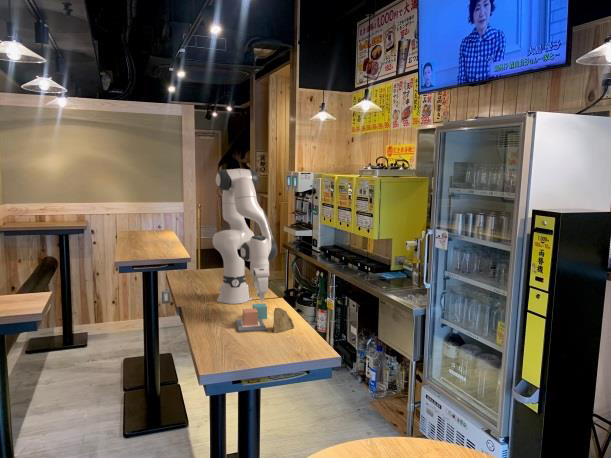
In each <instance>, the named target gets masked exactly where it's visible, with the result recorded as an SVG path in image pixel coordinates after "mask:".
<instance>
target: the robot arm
mask: <svg viewBox="0 0 611 458" xmlns="http://www.w3.org/2000/svg"><path fill="white" fill-rule="evenodd" d="M215 184H216V186H217V188H218V189H219V190H222V195H221V196H222V200H221V203H222V204H221V205H222V218H223V220H224V221H225V222H227V224H229V227H230V229H225V230H224V229H223V230H220V231H218V232H216V233H214V235H213V236H212V246H213V248H214V249H215V250H217V251H218V252H219V253H220V254H219V255H221V258H222V261H223V276H222V280H223V281H222V282H223V283H222V284H221V286H220V287H219V289H218V291H219V295H218V297H217V299H216V302H218V303H223V304H231V305H233V304H234V305H236V304H243V303H246V302H248V301H252V300H253V298H252V297H251V296H249V284H247V283H246V278H247V277H246V273H245V271H246V270H245V266H246V263H245V262H250V265H249V266H250V267H249V269H250V275H252V276H253V285H254V287H255V290H256V297H258V298H259V301H260V302H264V301H265V294H267V292H268V289H269V288H268V287H269V277H270V262H269V261H273V260H274V259H275V258H276V257H277V255H278V251H279V250H278V246H277V242H276V241H275V238H274V236H273V232H272V228H271V226H270V221H269V219H268V216H267V214H266V211H265V209H263V208H262V207H261V206H260V204H259V202H258V198H257V193H256V189H255V188H256V187H257V186H258V185H259V176H258V173H257V171H256V170H254V169H250V168H248V169H246V168H233V169H232V168H230V169H221V170H218V171H217V173H216V176H215ZM245 218H246V219H249V220H252V221H254V222H255V223H257V225H258V226H259V228H260V229H259V230H260V233H261V235H258V234H256V235H255V234H254V231H252V230H251V229H250V228H249V226H248V224H247V223H246V220H245ZM238 250H239V251H240V252H239V253H240V255H239V253H238Z"/></svg>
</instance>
